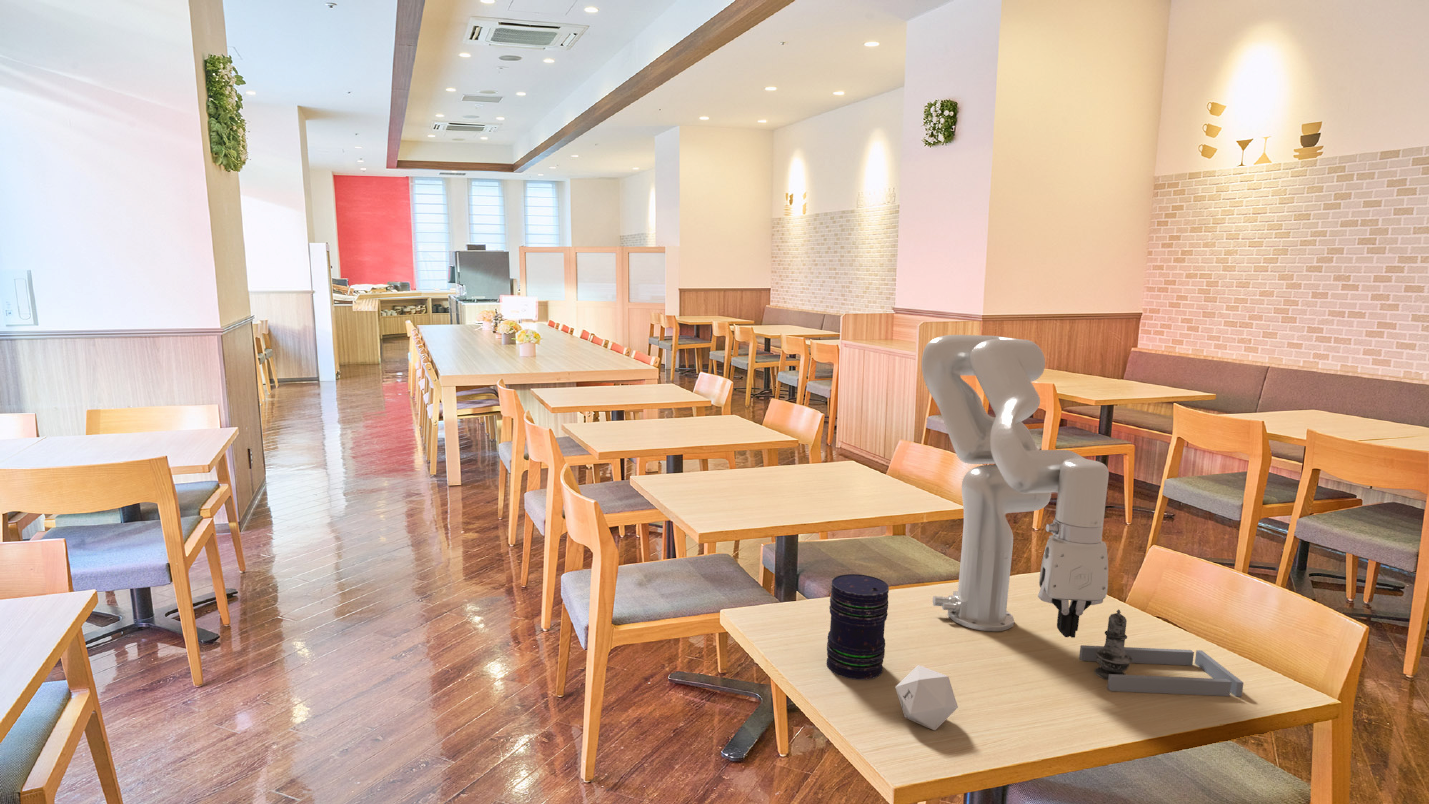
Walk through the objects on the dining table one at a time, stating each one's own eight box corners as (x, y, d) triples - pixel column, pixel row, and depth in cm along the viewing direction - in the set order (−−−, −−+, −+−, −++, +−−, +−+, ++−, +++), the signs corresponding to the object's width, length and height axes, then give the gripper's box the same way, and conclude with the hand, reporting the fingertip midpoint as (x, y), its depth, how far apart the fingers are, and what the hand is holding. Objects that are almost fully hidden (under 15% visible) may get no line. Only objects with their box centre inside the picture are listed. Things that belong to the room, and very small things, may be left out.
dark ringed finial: (1127, 670, 145) (1135, 606, 143) (1132, 685, 140) (1140, 618, 138) (1091, 664, 147) (1098, 600, 145) (1094, 679, 141) (1102, 612, 140)
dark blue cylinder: (814, 665, 142) (819, 583, 140) (846, 648, 149) (851, 569, 147) (863, 686, 136) (869, 600, 133) (894, 667, 143) (900, 585, 140)
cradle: (1110, 690, 137) (1111, 676, 137) (1079, 658, 149) (1080, 645, 149) (1241, 696, 137) (1243, 682, 137) (1200, 663, 149) (1201, 650, 149)
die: (897, 705, 131) (881, 672, 126) (945, 680, 131) (931, 646, 126) (921, 748, 124) (905, 715, 119) (971, 722, 124) (958, 688, 119)
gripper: (1041, 536, 136) (1031, 641, 139) (1132, 540, 136) (1120, 645, 138) (1025, 523, 143) (1015, 623, 146) (1111, 527, 143) (1100, 627, 146)
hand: (1066, 634), depth 142 cm, fingers closed
